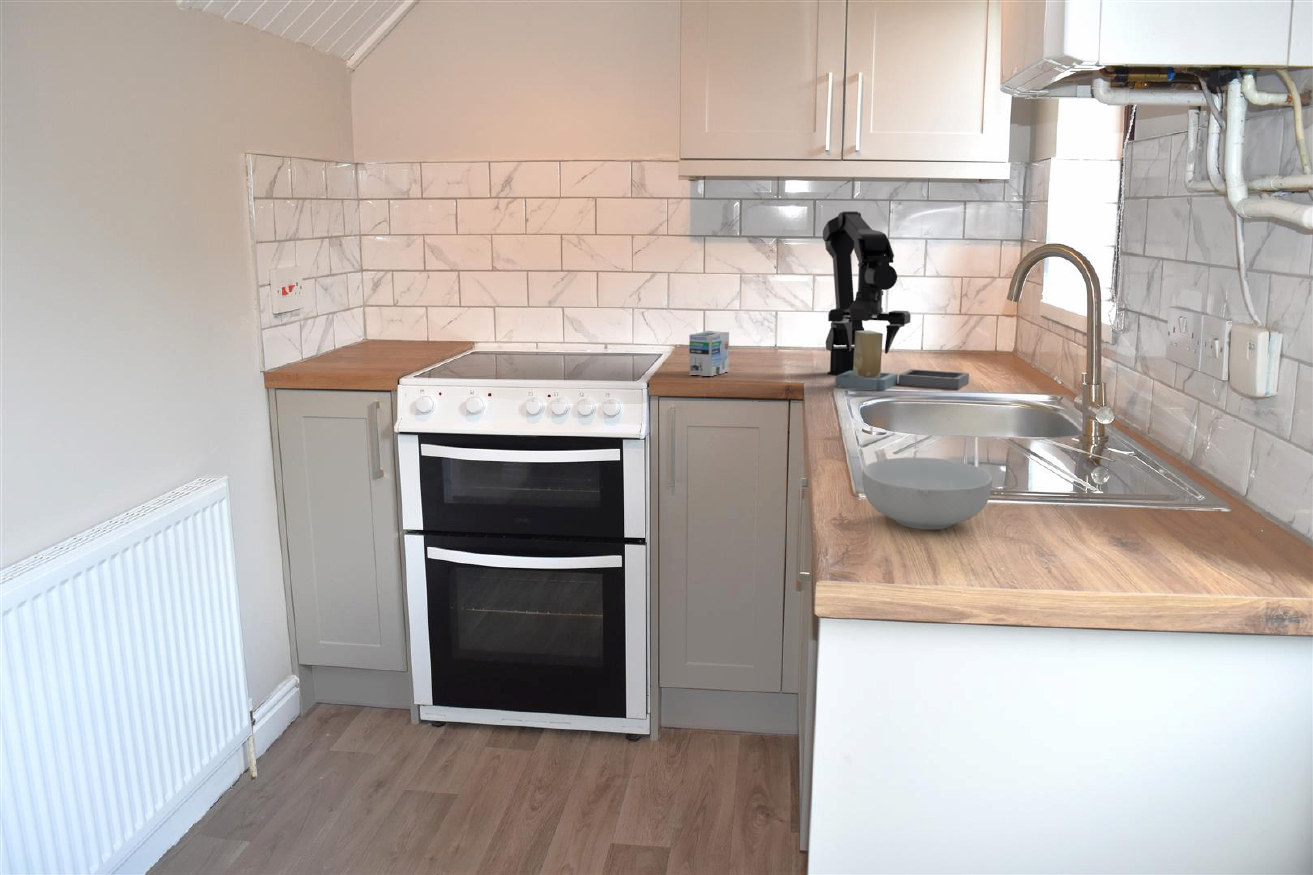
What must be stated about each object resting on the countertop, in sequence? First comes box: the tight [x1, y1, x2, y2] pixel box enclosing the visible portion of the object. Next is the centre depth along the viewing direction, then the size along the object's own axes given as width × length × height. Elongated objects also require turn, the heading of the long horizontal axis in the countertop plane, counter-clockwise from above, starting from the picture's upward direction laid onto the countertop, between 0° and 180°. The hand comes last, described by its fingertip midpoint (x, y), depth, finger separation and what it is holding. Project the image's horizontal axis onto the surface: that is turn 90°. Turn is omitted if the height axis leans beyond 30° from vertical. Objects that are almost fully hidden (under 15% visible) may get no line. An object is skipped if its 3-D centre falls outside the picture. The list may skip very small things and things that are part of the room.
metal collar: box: [897, 368, 970, 391], centre depth 253 cm, size 14×10×2 cm
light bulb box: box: [689, 330, 730, 376], centre depth 270 cm, size 11×7×11 cm, turn 151°
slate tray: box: [834, 371, 899, 391], centre depth 252 cm, size 12×12×2 cm
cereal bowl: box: [862, 456, 993, 531], centre depth 141 cm, size 17×17×7 cm
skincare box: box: [853, 329, 884, 379], centre depth 251 cm, size 6×4×12 cm
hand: (867, 352), depth 250 cm, fingers open, 9 cm apart
